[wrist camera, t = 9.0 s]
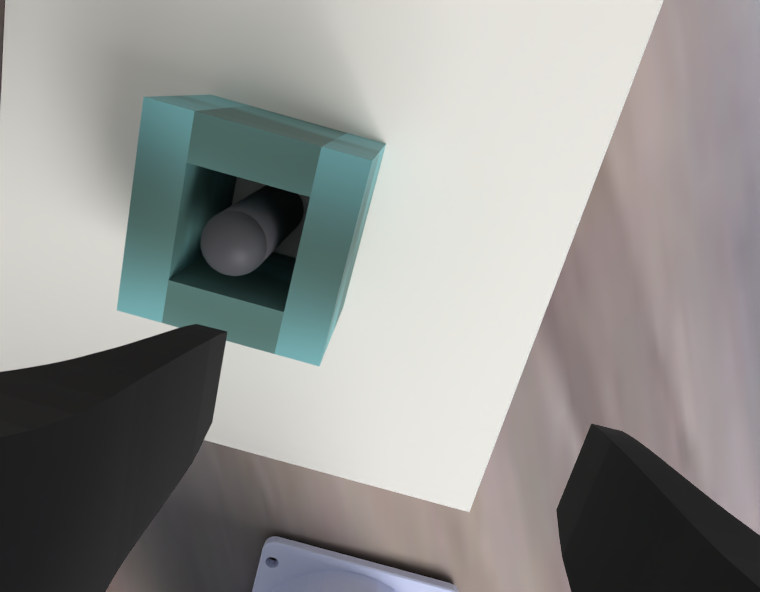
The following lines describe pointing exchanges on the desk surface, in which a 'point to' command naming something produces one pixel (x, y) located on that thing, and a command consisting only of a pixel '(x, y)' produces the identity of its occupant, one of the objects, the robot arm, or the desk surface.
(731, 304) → the desk surface
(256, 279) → the teal hollow square tube
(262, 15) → the white square slab
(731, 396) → the desk surface
